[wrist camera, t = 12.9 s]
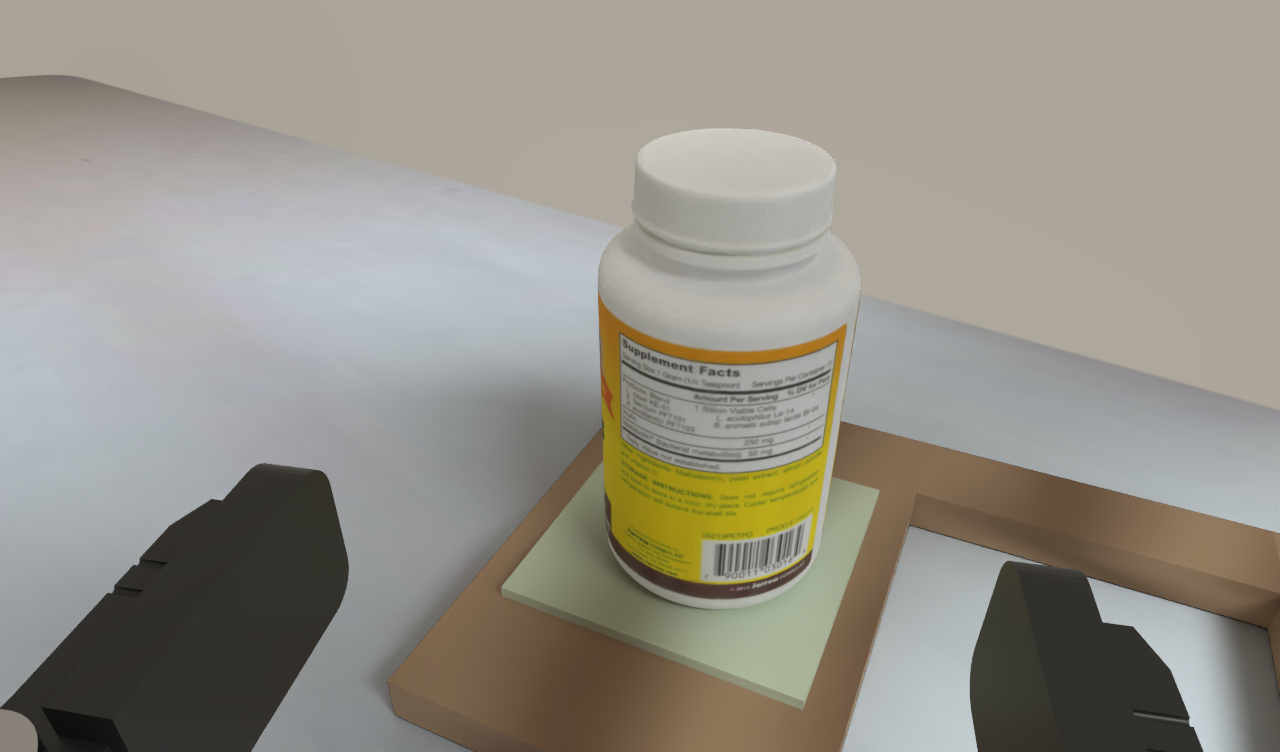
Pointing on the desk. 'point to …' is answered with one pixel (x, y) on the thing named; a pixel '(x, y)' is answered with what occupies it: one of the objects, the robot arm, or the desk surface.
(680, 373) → the supplement bottle
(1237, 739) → the desk surface
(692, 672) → the puzzle board
